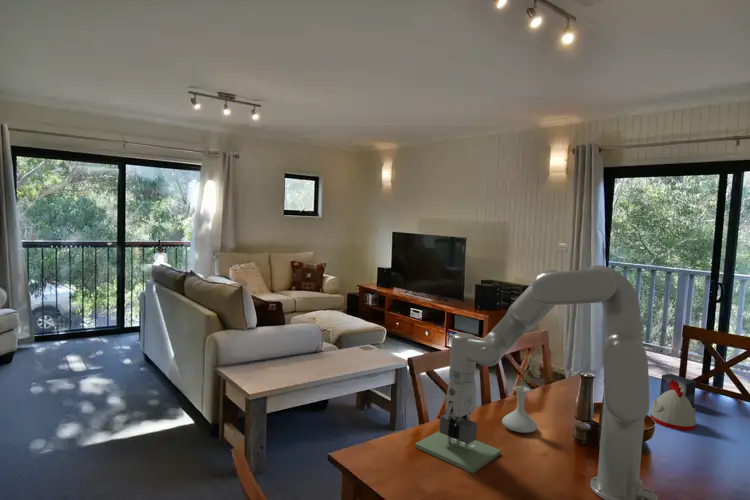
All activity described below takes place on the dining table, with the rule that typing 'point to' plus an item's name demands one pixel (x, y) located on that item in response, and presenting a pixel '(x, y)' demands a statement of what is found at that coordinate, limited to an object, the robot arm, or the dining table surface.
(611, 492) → the robot arm
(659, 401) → the kitchen timer
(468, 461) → the board
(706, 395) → the dining table surface
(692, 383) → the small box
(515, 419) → the flower in vase
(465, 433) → the plug housing
